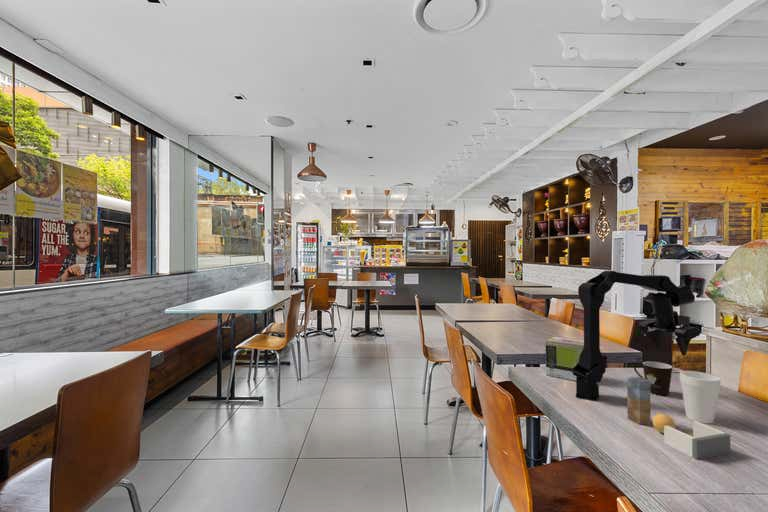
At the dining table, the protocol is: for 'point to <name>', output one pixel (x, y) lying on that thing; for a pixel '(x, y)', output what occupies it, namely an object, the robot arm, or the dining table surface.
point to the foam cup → (700, 395)
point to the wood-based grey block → (638, 400)
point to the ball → (662, 422)
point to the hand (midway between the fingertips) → (671, 352)
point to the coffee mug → (657, 377)
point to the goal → (698, 441)
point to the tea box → (562, 356)
